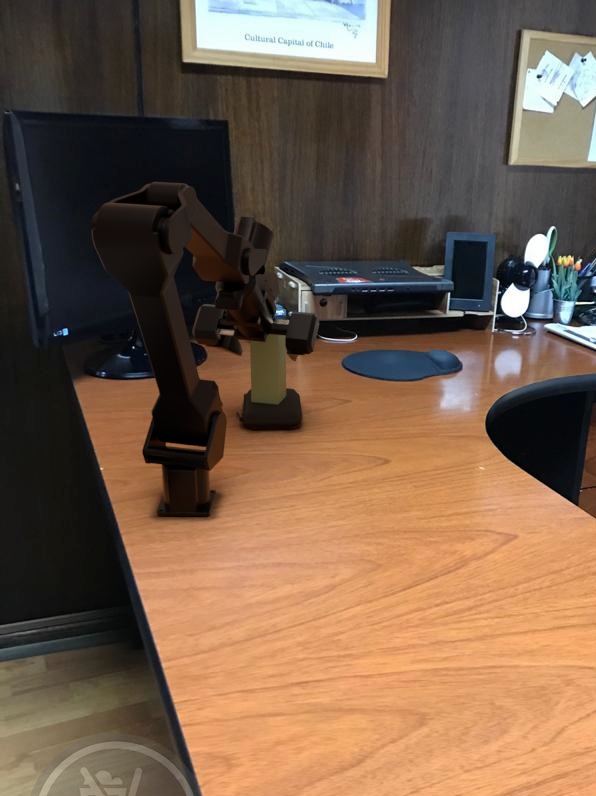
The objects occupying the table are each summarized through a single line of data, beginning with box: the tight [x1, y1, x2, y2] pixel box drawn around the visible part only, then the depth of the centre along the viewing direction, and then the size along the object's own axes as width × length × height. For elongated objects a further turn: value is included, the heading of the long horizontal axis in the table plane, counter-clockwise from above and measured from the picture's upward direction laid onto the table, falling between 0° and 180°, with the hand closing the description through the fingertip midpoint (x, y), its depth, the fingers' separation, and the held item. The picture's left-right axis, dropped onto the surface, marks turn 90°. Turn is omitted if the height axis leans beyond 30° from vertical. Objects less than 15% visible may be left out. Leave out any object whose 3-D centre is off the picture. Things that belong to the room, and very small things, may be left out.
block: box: [249, 334, 287, 405], centre depth 126 cm, size 5×5×13 cm
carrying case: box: [235, 387, 303, 430], centre depth 129 cm, size 11×3×15 cm
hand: (268, 356), depth 126 cm, fingers open, 9 cm apart
